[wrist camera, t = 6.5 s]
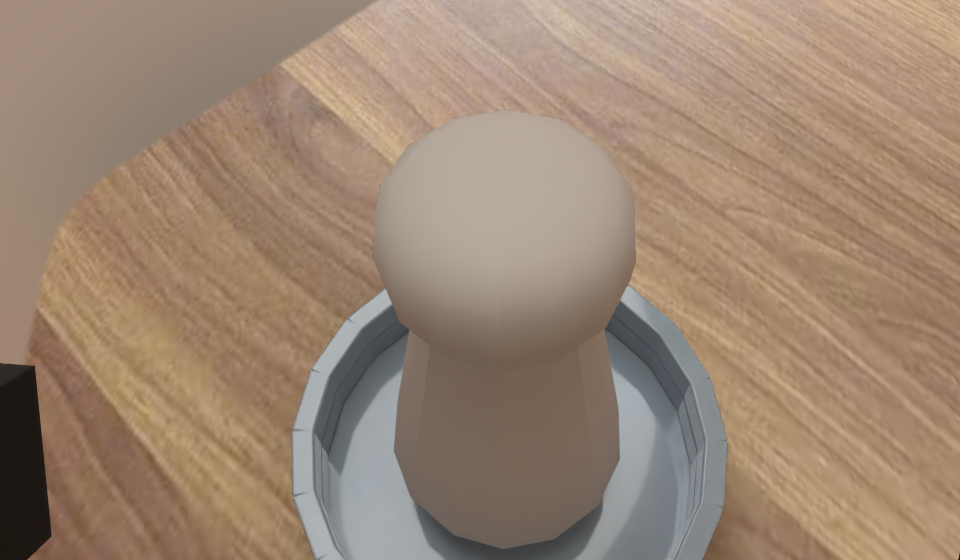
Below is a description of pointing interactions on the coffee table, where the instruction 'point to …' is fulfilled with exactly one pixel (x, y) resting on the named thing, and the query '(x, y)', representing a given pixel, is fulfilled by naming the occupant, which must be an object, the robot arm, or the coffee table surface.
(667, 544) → the bowl
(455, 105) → the coffee table surface
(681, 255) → the coffee table surface
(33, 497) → the robot arm
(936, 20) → the coffee table surface
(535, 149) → the salt shaker
